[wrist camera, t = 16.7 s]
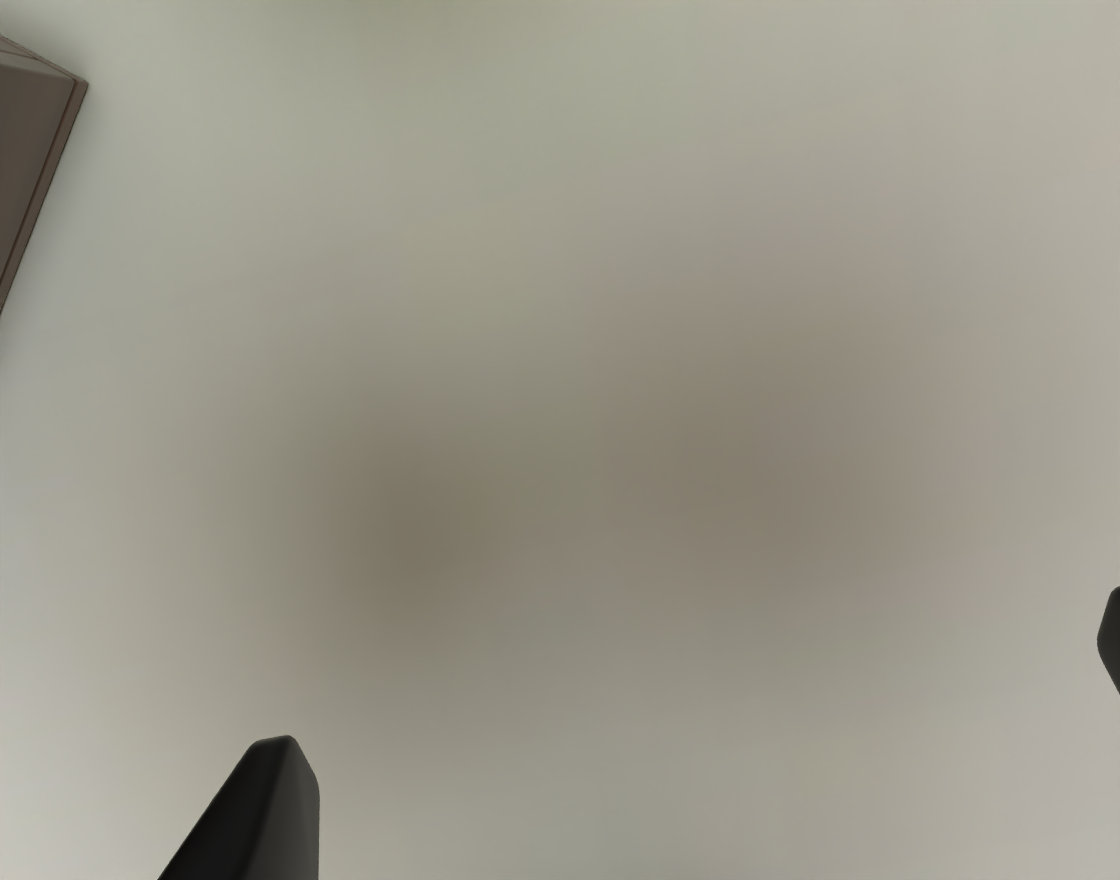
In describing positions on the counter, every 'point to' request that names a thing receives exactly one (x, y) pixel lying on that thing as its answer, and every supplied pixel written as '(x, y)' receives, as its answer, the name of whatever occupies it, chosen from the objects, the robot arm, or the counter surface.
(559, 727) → the counter surface
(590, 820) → the counter surface
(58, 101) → the crate
